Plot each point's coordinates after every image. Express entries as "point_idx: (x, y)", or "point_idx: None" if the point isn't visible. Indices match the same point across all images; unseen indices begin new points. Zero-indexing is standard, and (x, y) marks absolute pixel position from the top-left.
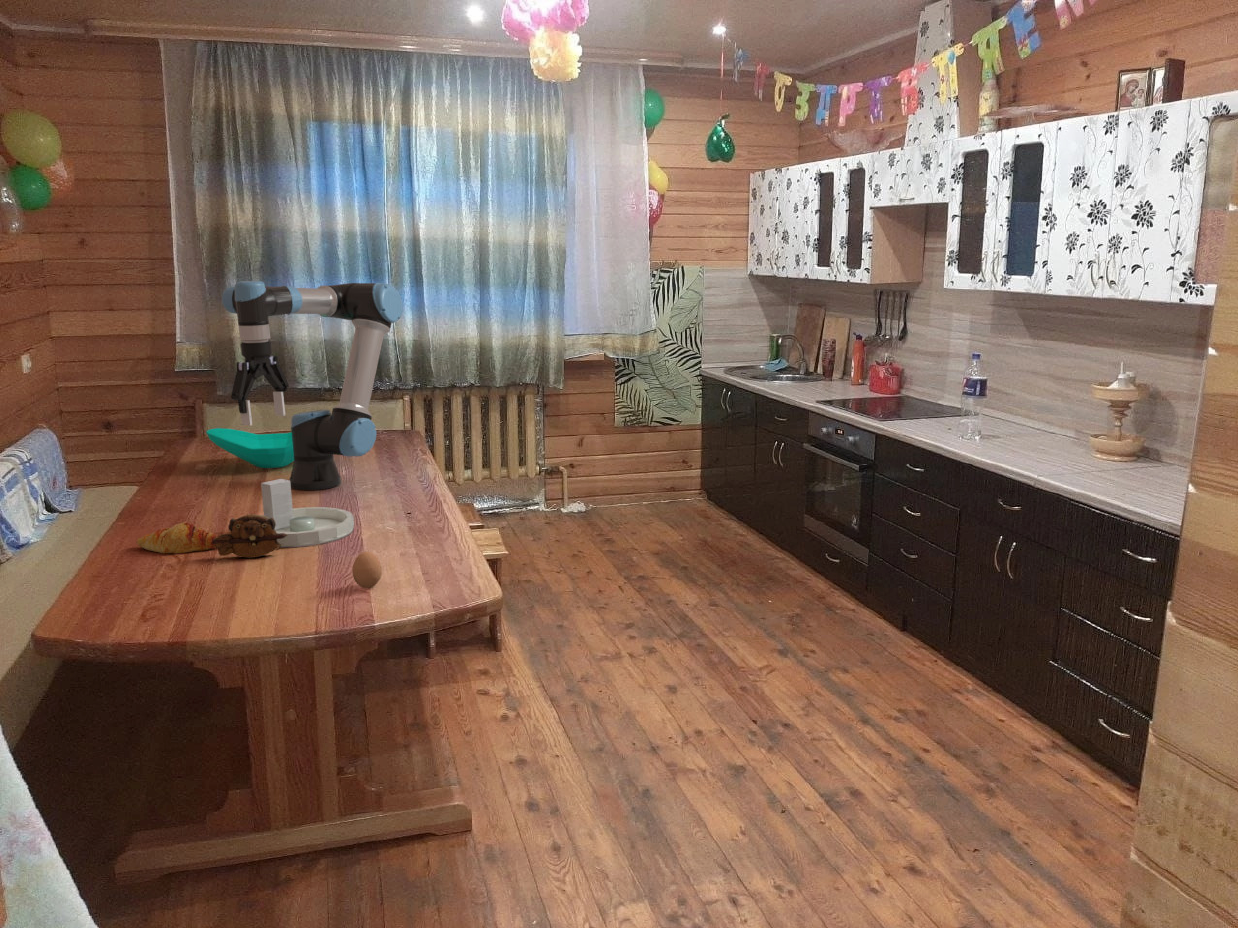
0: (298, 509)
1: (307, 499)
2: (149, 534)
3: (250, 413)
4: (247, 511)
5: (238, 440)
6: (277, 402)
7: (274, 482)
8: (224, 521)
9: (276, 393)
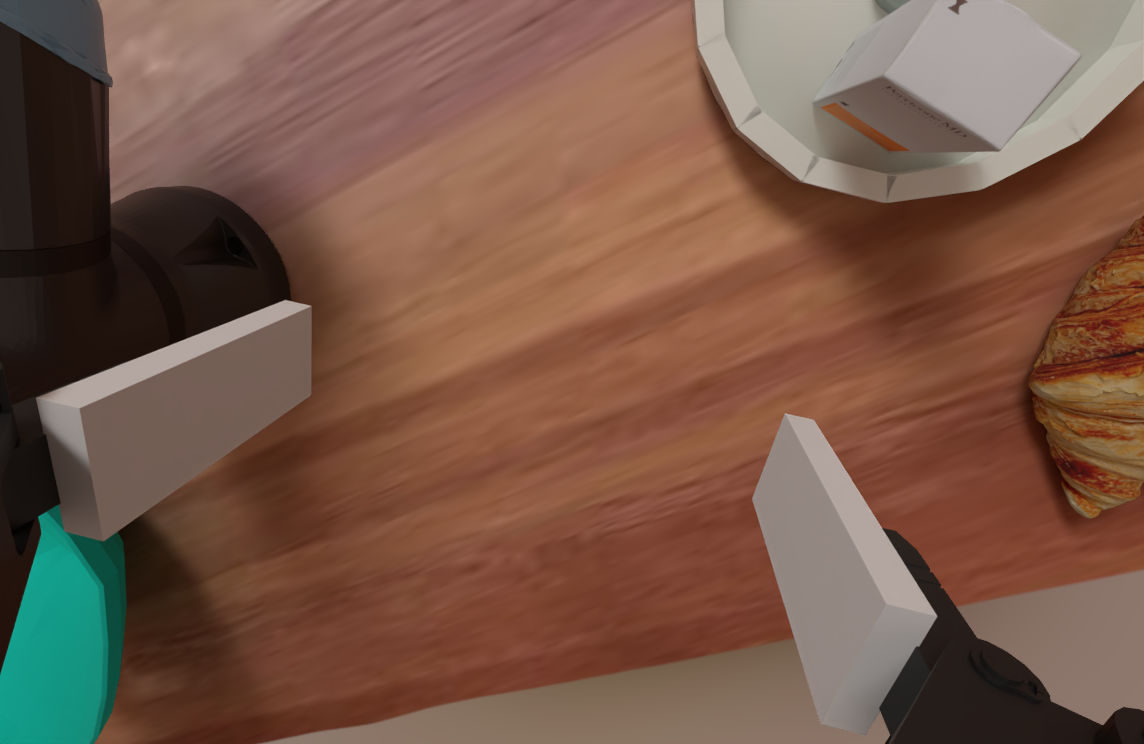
0: (739, 67)
1: (396, 216)
2: (1126, 487)
3: (829, 480)
4: (590, 360)
5: (5, 669)
6: (216, 415)
7: (1008, 58)
8: (728, 378)
9: (113, 478)
